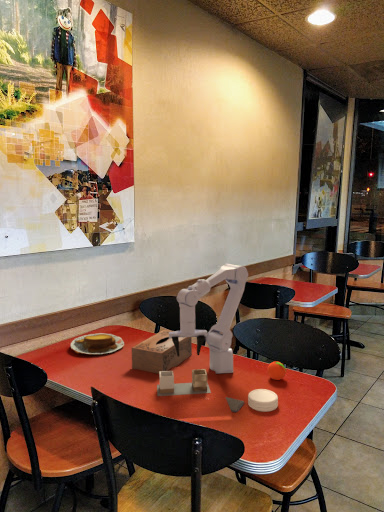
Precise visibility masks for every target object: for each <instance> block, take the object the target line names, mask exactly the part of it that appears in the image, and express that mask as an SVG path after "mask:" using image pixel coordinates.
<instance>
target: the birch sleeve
mask: <svg viewBox="0 0 384 512" xmlns="http://www.w3.org/2000/svg"><path fill="white" fill-rule="evenodd" d="M207 382H208V373H207V370H206V368H201V369H198V368H197V369H191V383H192V387H193V391H207Z"/></svg>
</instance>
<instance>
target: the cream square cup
mask: <svg viewBox="0 0 384 512" xmlns="http://www.w3.org/2000/svg"><path fill="white" fill-rule="evenodd" d="M174 384H175V374H174V370H168V371H159V385H160V393H173V392H174Z"/></svg>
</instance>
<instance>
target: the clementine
mask: <svg viewBox="0 0 384 512" xmlns="http://www.w3.org/2000/svg"><path fill="white" fill-rule="evenodd" d="M266 370H267V374H268V376H269V378H271V379H272V380H274V381H279V380H282V379H283V378H284V377H285V375H286V372H287V369H286V367H285V365H284V363H281V362H280V361H276V360H274V361H273V362H271V363H269V364H268V366H267V369H266Z"/></svg>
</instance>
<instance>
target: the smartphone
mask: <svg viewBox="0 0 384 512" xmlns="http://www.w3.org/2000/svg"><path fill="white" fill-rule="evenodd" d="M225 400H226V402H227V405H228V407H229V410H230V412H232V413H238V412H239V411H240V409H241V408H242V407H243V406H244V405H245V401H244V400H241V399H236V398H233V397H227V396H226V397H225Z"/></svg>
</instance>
